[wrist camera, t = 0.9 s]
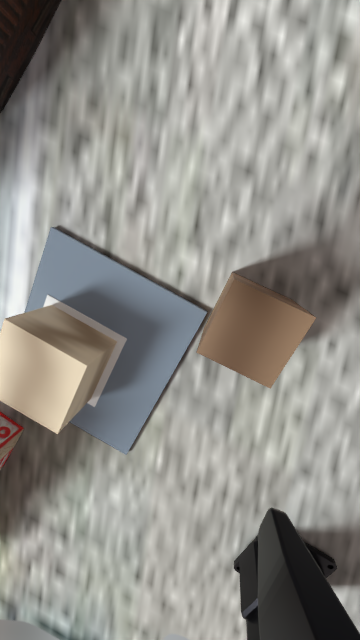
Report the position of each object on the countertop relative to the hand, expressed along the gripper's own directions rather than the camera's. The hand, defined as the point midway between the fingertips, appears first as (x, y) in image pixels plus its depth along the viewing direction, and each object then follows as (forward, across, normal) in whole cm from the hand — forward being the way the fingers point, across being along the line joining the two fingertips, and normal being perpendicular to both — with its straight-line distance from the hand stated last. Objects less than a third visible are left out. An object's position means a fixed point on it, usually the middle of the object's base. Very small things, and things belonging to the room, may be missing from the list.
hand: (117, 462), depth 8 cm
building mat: (+12, +7, +4) cm, 15 cm away
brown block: (+12, -4, -3) cm, 13 cm away
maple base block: (+12, +8, +4) cm, 15 cm away
